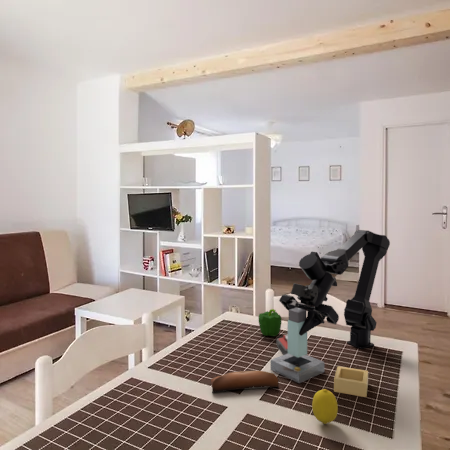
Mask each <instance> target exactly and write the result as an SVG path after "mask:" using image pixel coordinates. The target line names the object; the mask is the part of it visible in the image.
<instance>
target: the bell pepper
mask: <svg viewBox="0 0 450 450" xmlns="http://www.w3.org/2000/svg"><path fill="white" fill-rule="evenodd" d="M258 325H259V329H260V332H261V334H262V335H263V336H265V337H266V336H267V337H268V336H271V337H276V336H278V335H279V334H280V332H281V331H280V330H281V328H282V317H281V315H280V314H279V313H278V312H277V311H276V309H273V308H271V309H270V310H269V311H268V310H267V311H265V312H261V313H260V312H259V314H258Z"/></svg>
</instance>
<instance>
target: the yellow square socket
mask: <svg viewBox="0 0 450 450" xmlns="http://www.w3.org/2000/svg"><path fill="white" fill-rule="evenodd" d="M368 386H369V370H364V369H359V368H352V367H346V366H338V365H337V368H336V371H335V374H334V378H333V392H335V393H339V394H346V395H352V396H356V397H362V398H363V397H364V398H367V394H368Z"/></svg>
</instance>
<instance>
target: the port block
mask: <svg viewBox="0 0 450 450" xmlns="http://www.w3.org/2000/svg"><path fill="white" fill-rule="evenodd" d="M270 371H272V372H275V373H277V374H279V375H281V376H283V377H285V378H287V379H289V380H292V382H293V381H294V382H295V383H298V384H301V383H303V382H305V381H307V380H310V379H313V378H314V377H317V376H318V375H320V374H321V375H322V374H323V373H325V361H323V360H321V359H318V358H315V357H313V356H310V355H308V354H307V355H303V356H301V357H295V356H293V355H291V354H285V355H283V354H282V355H279V356H277V357H274V358H272V359H270Z"/></svg>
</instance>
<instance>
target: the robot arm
mask: <svg viewBox="0 0 450 450" xmlns="http://www.w3.org/2000/svg"><path fill="white" fill-rule="evenodd" d="M390 244H391V242H390V239H389V238H388V237H387V235H384V234H378V233H375V232H372V231H370V230H364V229H358V230H356V231H355V232H354V234H353V235H352V236H350V238H348V239H347V240H346V241H345V242H344V243H342V245H341V246H339V247H338V248H337V249H335V250H331V251H328V252H326V253H325V254H323V255H322V256H321V257H320V255H319V253H318V252H317V251H310V253H308V254H306V255H304V256H303V257H302V258H301V259H300V260H299V262H298V266H299V268H300V269H301V270H302V271H303V273H304V274H305V275H306V277H307V278H308V279H309V280H310V281H311V283H310V284H308V285H307V284H306V285H303V284H300V283H299V284H298V283H296V282H295V283H293V284H292V288H291V291H290V295H288V294H282V295H281V297H280V298H279V300H278V302H280V304H282V306H283V307H284V308H285V309H286V310H287V312H289V310H290V309H294V308H300V309H304V310H306V312H307V313H306V320H305V322H304V324H303V325H302V327H301V329H300V332H299V334H300V335H301V336H302V335H303V334H305V333H306V332H307V333H308V332H309V331H311V330H313V329H314V328H316V327H318V326H320V325H321V324H325V323H326V322H327V323H328V324H332V325H337V323H338V322H339V319H340V316H339V313H338V312H337V311H336V310H335V308H334V307H333V306H332V305H329V304H325V303H323V302H327V301H328V299H329V298H328V297H327V295H328V294H329V292H330V290H331V288H332V287H338V283H337V278H336V277H334V276H333V275H342V274H344V273H345V271H346V270H347V269H348V268H349V261H350V260H351V259H353V257H354V256H355V255H356V254H358V252H360V250H362V253H363V255H364V258H363V262H362V265H361V266H362V267H361V271H360V273H359V277H358V280H357V281H358V282H357V286H356V289H355V293H354V295H353V297H352V298H351V299H347V300H346V302H345V307H344V309H343V311H344V312H343V315H344V320H345V321H344V322H345V325H346V326H350V331H349V333H350V335H349V340H348V341H346V343H347V344H349V345H351V346H353V347H356V348H358V349H362V350H363V349H366V348H370V347H373V346H375V343H373V342H371V336H372V334H371V332H373V331H375V329H376V327H377V321H376V320H375V318H374V317H373V315H372V314H373V308H372V305H371V302H370V299H371V295H372V292H373V288H374V287H373V286H374V285H375V279H376V275H377V271H378V266H379V263H380V261H381V260H382V259H383V258H384V257H385V256H386V255H387V252H388V249H389V248H390ZM292 295H295V296H297V299H298V301H297V300H296V298H295V296H292ZM325 319H326V322H325Z"/></svg>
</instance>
